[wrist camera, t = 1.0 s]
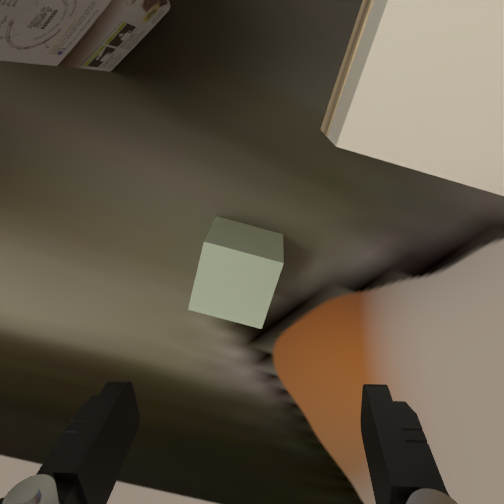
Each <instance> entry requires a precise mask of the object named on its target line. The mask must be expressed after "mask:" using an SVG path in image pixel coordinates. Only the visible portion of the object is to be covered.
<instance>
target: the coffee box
mask: <svg viewBox="0 0 504 504" xmlns="http://www.w3.org/2000/svg"><path fill="white" fill-rule="evenodd" d="M169 9H170V2H169V1H168V0H0V61H7V62H17V63H27V64H38V65H48V66H59V67H70V68H80V69H92V70H101V71H112V70H113V69H114V68H115V67H116V66H117V65H118V64H119V63H120V62H121V61H122V60H123V58H124V57H125V56H126V55H127V54H128V53H129V52H130V51H131V50H132V49H133V48H134V47H135V46H136V45H137V44H138V43H139V42H140V41H141V40H142V39H143V38H144V37H145V36H146V35H147V34H148V33H149V31H150V30H151V29H152V28H153V27H154V26H155V25H156V24H157V23H158V22H159V21H160V20H161V19H162V18H163V16H164V15H165V14H166V13H167V12H168V11H169Z"/></svg>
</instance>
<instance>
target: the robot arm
mask: <svg viewBox="0 0 504 504" xmlns="http://www.w3.org/2000/svg"><path fill="white" fill-rule="evenodd" d="M139 421H140V415H139V409H138V405H137V401H136V397H135V392H134V388H133V384H132V382H131V381H108V382H107V383H106V385H105V386H104V388H103V390H102V391H101V393H100V395H99V396H92V397H91V398H90V399H88V400H87V401H86V402H85V403H84V404H83V405H82V406H80V407H79V409H78V410H77V412H76V414H75V415H74V417H73V418H72V420H71V423H69V424H68V426H67V428H66V429H65V432H64V433H63V434H62V435H61V437H60V438H59V440H58V442H57V443H56V445H55V446H54V448H53V449H52V451H51V452H50V454H49V456H48V457H47V459H46V460H45V462H44V463H43V465H42V466H41V468H40V470H39V471H38V473H37V474H36V475H34V476H31V477H28V478H27V479H25V480H23V481H21V482H20V483H18V484H17V485H16V486H14V487H13V488H12V489H11V490H10V491H9V492H8V494H7V495H6V496H5V497H4V498H1V499H0V504H106V503H107V501H108V499H109V496H110V494H111V492H112V489H113V487H114V485H115V483H116V480H117V478H118V476H119V473H120V471H121V469H122V466H123V464H124V462H125V459H126V457H127V455H128V452H129V450H130V448H131V445H132V443H133V441H134V438H135V436H136V434H137V431H138V428H139ZM361 432H362V438H363V444H364V449H365V453H366V458H367V463H368V467H369V472H370V477H371V482H372V486H373V491H374V496H375V500H376V504H457V503H456V502H455V501H454V500H453V499H452V498H451V497H450V496H449V494H448V492H447V490H446V488H445V486H444V483H443V480H442V478H441V475H440V473H439V470H438V468H437V465H436V463H435V460H434V458H433V455H432V452H431V450H430V447H429V445H428V444H427V440H426V437H425V434H424V432H423V431H422V427H421V424H420V422H419V419H418V416H417V414H416V413H415V412H414V411H413V410H412V409H411V408H410V407H409V405H408V404H407V403H406V402H396V401H393V400H392V397H391V395H390V391H389V389H388V386H387V385H371V384H368V385H367V384H364V385H363V392H362V407H361Z"/></svg>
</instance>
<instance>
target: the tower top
mask: <svg viewBox="0 0 504 504" xmlns="http://www.w3.org/2000/svg"><path fill="white" fill-rule="evenodd" d="M327 137H328V138H329V140H330V141H331V142H332V143H333V144H334V145H335V146H336V147H339V148H342V149H346V150H349V151H353V152H356V153H359V154H363V155H366V156H370V157H373V158H376V159H380V160H383V161H386V162H390V163H393V164H397V165H400V166H403V167H407V168H410V169H414V170H417V171H420V172H424V173H427V174H431V175H434V176H437V177H441V178H444V179H447V180H451V181H454V182H458V183H461V184H464V185H468V186H471V187H475V188H478V189H481V190H485V191H488V192H492V193H495V194H498V195H502V196H504V0H374V2H373V5H372V8H371V10H370V13H369V16H368V19H367V22H366V25H365V28H364V31H363V34H362V37H361V40H360V43H359V45H358V48H357V51H356V54H355V57H354V60H353V63H352V66H351V69H350V72H349V75H348V77H347V80H346V83H345V86H344V89H343V92H342V95H341V98H340V101H339V104H338V107H337V109H336V112H335V115H334V118H333V121H332V124H331V127H330V130H329V133H328V136H327Z"/></svg>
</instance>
